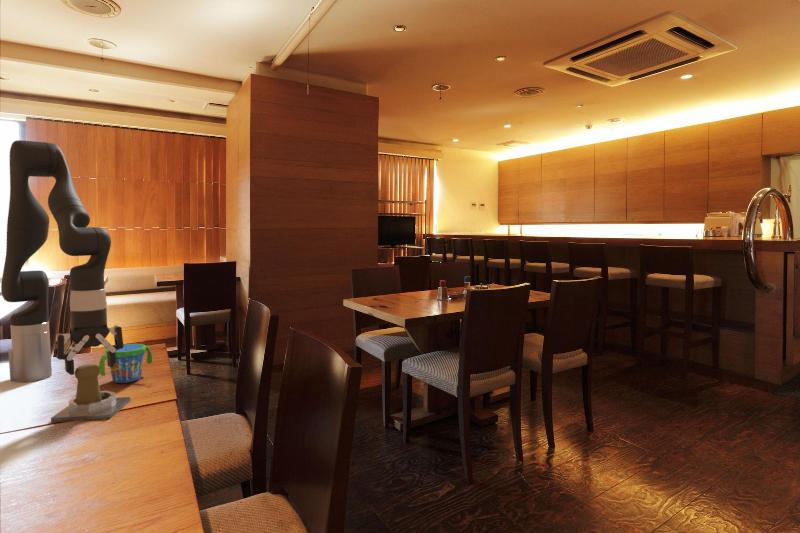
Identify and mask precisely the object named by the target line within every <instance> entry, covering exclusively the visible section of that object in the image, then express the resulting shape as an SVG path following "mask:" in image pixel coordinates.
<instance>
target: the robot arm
mask: <svg viewBox="0 0 800 533" xmlns="http://www.w3.org/2000/svg"><path fill="white" fill-rule="evenodd" d="M30 177H37V178H39V177H41V178H54V180H55V182H54V185H53V187H52V188H51V190H50V192H49V194H48V198H47V205H48V208H49V211H50V213H51V215H52V217H53V219H54V220H55V222H56V225H57V230H58V231H57V232H58V244H59V248H60V250H61V252H63V253H64V254H66V255H67V256H70V257H83V256H84V257H85V256H90V257H89V259H88V261H87V262H86V263H83V264H79V265H76V266H73V267H71V268H70V271H69V280H70V281H69V285H70V288H69V289H70V295H69V308H70V309H69V310H70V332H68V333H55V335H54V337H55V338H54V357H55V358H56V359H57V360H64V366H65V367H64V370H65V372H66V373H67V374H68V375H70V376H73V375H74V376H75V360H74V358H75V356H76V355H77V353H79V352H80V351H81V349H84V350H85V349H88V348H91V347H92V348H93V347H94V348H95V347H99V346H100V345H101V346H102V347H104V348H105V350H106V349H107V350H108V352H107V359H106V361H107V367H109V368H110V367H113V364H115V363H116V356H115V353H116V351H117V350H119V349H122V348H123V345H124V339H123V328H122V327H121V326H119V325H117V324H116V325H113V326H111V327H108V315H107V314H108V313H107V306H108V305H107V304H108V302H107V295H106V291H105V270H106V266H107V261H108V258H109V254H110V251H111V247H112V239H111V238H112V237H111V235H110V233H109V232H108V231H107V230H106V229H105V228H103V227H96V226H94V227H93V226H89V225H90V222H91V217H90V215H89V212H88V211H87V209H86V207H85V206H84V204H83V203H82V200H81V199H80V197H79V195H78V192H77V190H76V188H75V184H74V180H73V177H72V173H71V170H70V168H69V164H68V162H67V159H66V156H65V154H64V153H63V151H62V149H61V148H60V146H59V145H57V144H56V143H52V142H45V141H34V140H21V139H20V140H14V141H13V142H12V144H11V145H10V149H9V191H10V192H9V201H8V202H9V203H8V213H7V222H6V250H5V258H4V266H3V271H2V277H1V285H0V289H1V296H2V298H3V299H4V301H5V302H8V303H23V302H32V301H33V302H32V304H31V305H30V306H28V307H27V308H24V309H23V310H21V311H18V312H16V313H13V314H12V315H11V316H10V319H9V323H10V337H11V339H10V340H11V349H9V350H8V366H9V378H10V382H17V383H26V382H27V383H28V382H35V381H40V380H44V379H47V378H49V377H51V376H52V375H53V370H52V354H51V353H52V352H51V337H50V336H51V335H50V334H51V333H50V319H49V314H50V313H49V278H48V275H47V273H46V272H44V270H23V271H22V269H23V267H24V265H25V264H26V262H27V261H28V260H30V258H32V256H33V255H34V254H36V253H37V252H38V251H39V250H40V249H41V248H42V247H43V246H44V244H46V241H47V240H48V235H49V229H50V216H49V215H48V212H47V211H46V210H45V208H44V206H43V205H42V204H41V203H40V202H39V200H38V199H37V198H36V197H35V195H34V194H33V192H32V191H31V188H30V186H29V178H30ZM88 226H89V227H88ZM109 334H111V335H113V339H114V344H113V345H112V344H111V343H110V342H109V341H108V340H107V337H108V335H109ZM68 339H70V340H71V341H72V343H71V345H70V346H69V347H68V350H67V351H66V352H65V353H64V351H65V344H66V343H67V342H68Z"/></svg>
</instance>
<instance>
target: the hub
mask: <svg viewBox="0 0 800 533" xmlns="http://www.w3.org/2000/svg"><path fill="white" fill-rule="evenodd" d="M100 392H101V397H102V401H98V402H93V403H84V404H79V403H76V395H75V396H73V397H72V398H70V399H68V405H67V406H66V407H65V408H64V409H62V410H60V411H59V412H57V413H56V414H54V415H52V417H50V422H51V423H58V422H59V423H60V422H61V423H62V422H75V421H91V420H92V421H93V420H95V421H96V420H110V419H112V418H113V417H114V416H116V414H118V413H119V411H121V410H122V409H123V408H124V407H125V406H127V404H128V403H130V402H131V401H132V400H131V397H130V396H126V397H125V396H124V397H117V394H116V392H115V391H110V390H100Z"/></svg>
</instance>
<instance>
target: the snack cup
mask: <svg viewBox="0 0 800 533" xmlns="http://www.w3.org/2000/svg"><path fill="white" fill-rule="evenodd" d="M107 352H108V350H107V349H106V348H105V353H104V354H103V355H102V356H101V357H100V360H99V363H98V367H99V369H100V373H99V375H100V376H102V377H105V376H106V371H105V370H106V369H105V367H106V365H105V364H106V362H105V361H107ZM146 352H147V354H146ZM145 354H146V355H147V356H146V363H147V364H150V365H151V364H152V363H153V353H152V351H151V348H150V347H149V346H146V345H145V344H142V343H127V344H123V348H122V349H119V350H117V351H116V353H115V356H116V363H115V364H113V367H109V369H110V374H111V379H112V381H113V382H114V383H116V384H126V383H132V382H135V381H137V380H141V377H142V374H143V367H144V356H145Z"/></svg>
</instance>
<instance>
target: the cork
mask: <svg viewBox="0 0 800 533" xmlns="http://www.w3.org/2000/svg"><path fill="white" fill-rule="evenodd" d="M99 375H100V369H99V364H95V363H86V364H83V365H80V366H78V367H76V369H74V376H75V378H76V379H77V386H76V392H75V393H76V395H75V396H76V403H79V404H84V403H93V402H98V401H102V397H101V392H100V391H101V388H100V383H99V378H98V376H99Z"/></svg>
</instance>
